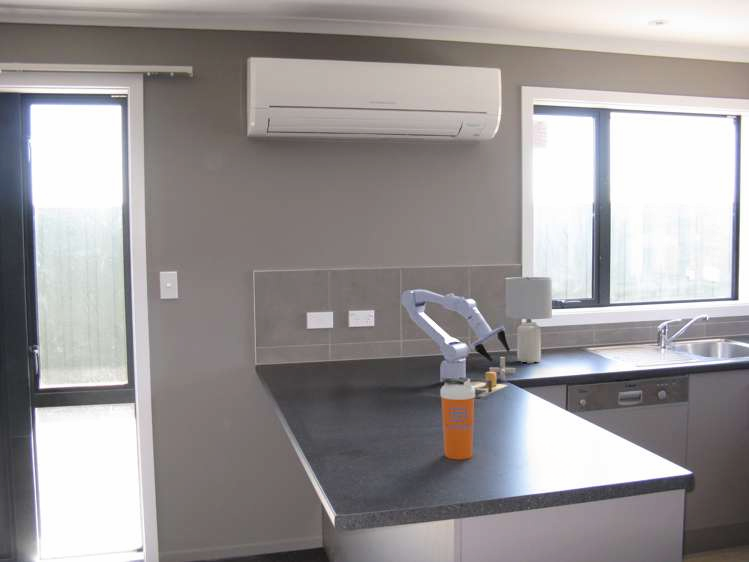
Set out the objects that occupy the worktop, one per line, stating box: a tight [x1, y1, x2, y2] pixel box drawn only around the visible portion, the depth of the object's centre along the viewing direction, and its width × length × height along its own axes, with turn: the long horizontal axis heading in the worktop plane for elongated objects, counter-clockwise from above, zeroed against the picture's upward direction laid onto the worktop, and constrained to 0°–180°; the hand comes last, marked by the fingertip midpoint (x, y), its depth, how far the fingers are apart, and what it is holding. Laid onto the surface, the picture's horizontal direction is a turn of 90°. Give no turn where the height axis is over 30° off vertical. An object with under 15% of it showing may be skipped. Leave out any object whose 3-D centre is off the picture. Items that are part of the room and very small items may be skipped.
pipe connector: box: [489, 356, 517, 381], centre depth 273 cm, size 10×10×10 cm
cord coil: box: [484, 371, 497, 387], centre depth 262 cm, size 4×4×5 cm
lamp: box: [505, 276, 553, 364], centre depth 319 cm, size 20×20×39 cm
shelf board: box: [459, 377, 509, 401], centre depth 258 cm, size 14×22×5 cm, turn 146°
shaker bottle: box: [439, 377, 476, 461], centre depth 181 cm, size 9×9×20 cm
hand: (500, 355), depth 260 cm, fingers open, 7 cm apart
